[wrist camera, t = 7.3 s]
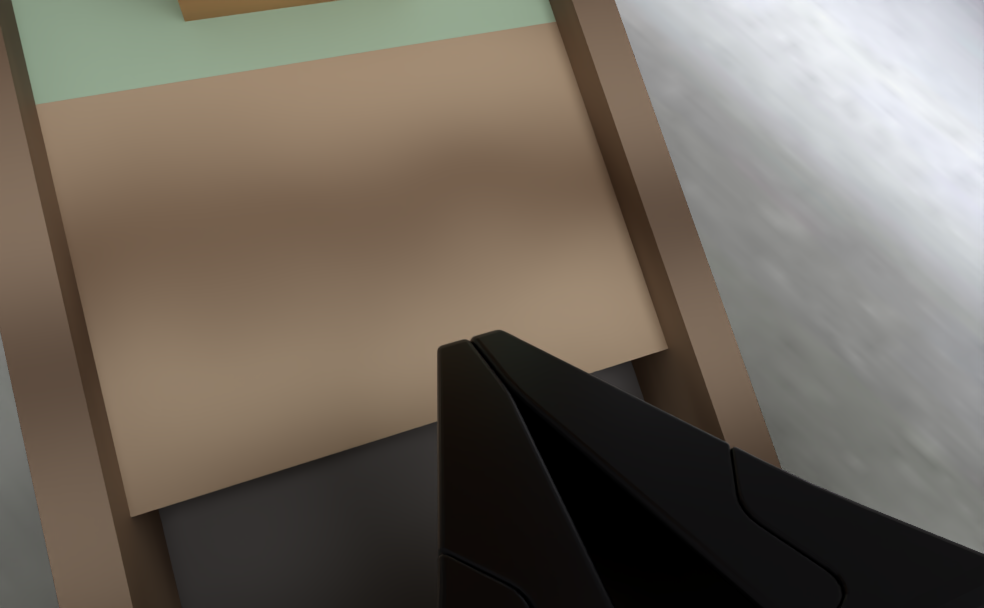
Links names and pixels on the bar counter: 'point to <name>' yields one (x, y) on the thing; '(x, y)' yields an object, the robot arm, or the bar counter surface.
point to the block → (234, 7)
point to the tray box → (328, 300)
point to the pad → (229, 37)
